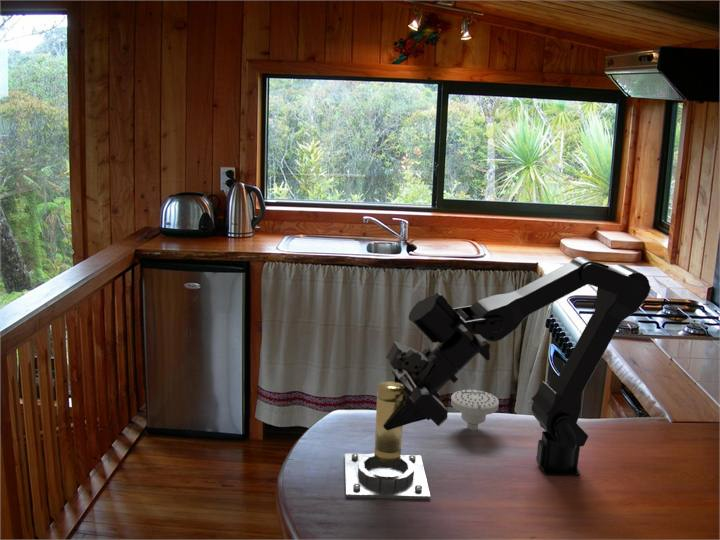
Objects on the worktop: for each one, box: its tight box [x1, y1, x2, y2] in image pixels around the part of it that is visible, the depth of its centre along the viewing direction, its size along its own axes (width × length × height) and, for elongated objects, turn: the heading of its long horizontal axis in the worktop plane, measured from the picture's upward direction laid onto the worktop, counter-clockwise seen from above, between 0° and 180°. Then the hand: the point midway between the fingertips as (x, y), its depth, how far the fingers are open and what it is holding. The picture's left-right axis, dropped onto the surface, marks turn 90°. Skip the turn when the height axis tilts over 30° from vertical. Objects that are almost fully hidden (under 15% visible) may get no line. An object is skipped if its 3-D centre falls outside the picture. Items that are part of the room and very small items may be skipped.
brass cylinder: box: [373, 380, 405, 463], centre depth 131 cm, size 5×5×13 cm
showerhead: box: [450, 388, 500, 431], centre depth 153 cm, size 9×7×10 cm
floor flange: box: [344, 452, 431, 500], centre depth 134 cm, size 14×14×2 cm
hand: (381, 421), depth 131 cm, fingers closed on brass cylinder, 5 cm apart
